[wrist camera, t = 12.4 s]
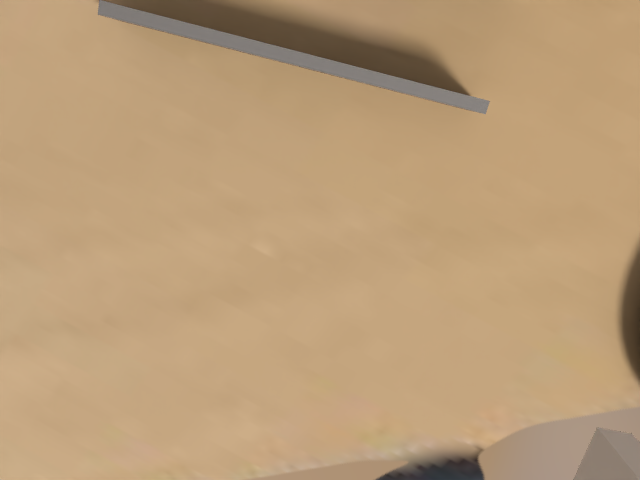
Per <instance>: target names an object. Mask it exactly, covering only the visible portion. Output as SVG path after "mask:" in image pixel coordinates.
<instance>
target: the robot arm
mask: <svg viewBox="0 0 640 480" xmlns="http://www.w3.org/2000/svg"><path fill="white" fill-rule="evenodd" d="M573 480H640V442H639V441H638V440H637V438H636V437H635V436H634V435H633V434H632V433H626V432H621V431H615V430H609V429H603V428H598V427H597V428H596V431H595V433H594V435H593V437H592V440H591V442H590V444H589V446H588V448H587V450H586V453H585V455H584V457H583V459H582V462H581V464H580V466H579V468H578V470H577V473H576V475H575V477H574V479H573Z"/></svg>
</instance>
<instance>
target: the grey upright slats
mask: <svg viewBox="0 0 640 480" xmlns="http://www.w3.org/2000/svg"><path fill="white" fill-rule="evenodd" d="M98 15H102V16H105V17H109V18H112V19H116V20H120V21H123V22H127V23H131V24H135V25H139V26H143V27H147V28H151V29H155V30H159V31H162V32H166V33H170V34H174V35H178V36H182V37H186V38H190V39H194V40H197V41H201V42H205V43H209V44H213V45H217V46H221V47H225V48H229V49H232V50H236V51H240V52H244V53H248V54H252V55H256V56H260V57H264V58H267V59H271V60H275V61H279V62H283V63H287V64H291V65H295V66H299V67H302V68H306V69H310V70H314V71H318V72H322V73H326V74H330V75H334V76H338V77H341V78H345V79H349V80H353V81H357V82H361V83H365V84H369V85H373V86H376V87H380V88H384V89H388V90H392V91H396V92H400V93H404V94H408V95H411V96H415V97H419V98H423V99H427V100H431V101H435V102H439V103H443V104H446V105H450V106H454V107H458V108H462V109H466V110H470V111H474V112H479V113H483V114H486V111H487V108H488V105H489V102H490V101H487V100H484V99H480V98H476V97H472V96H468V95H464V94H460V93H457V92H453V91H449V90H445V89H441V88H437V87H433V86H430V85H426V84H422V83H418V82H414V81H410V80H406V79H403V78H399V77H395V76H391V75H387V74H383V73H379V72H376V71H372V70H368V69H364V68H360V67H356V66H352V65H349V64H345V63H341V62H337V61H333V60H329V59H325V58H322V57H318V56H314V55H310V54H306V53H302V52H298V51H295V50H291V49H287V48H283V47H279V46H275V45H271V44H268V43H264V42H260V41H256V40H252V39H248V38H244V37H241V36H237V35H233V34H229V33H225V32H221V31H217V30H214V29H210V28H206V27H202V26H198V25H194V24H190V23H187V22H183V21H179V20H175V19H171V18H167V17H163V16H160V15H156V14H152V13H148V12H144V11H140V10H136V9H133V8H129V7H125V6H121V5H117V4H113V3H109V2H106V1H102V0H99V8H98Z"/></svg>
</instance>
